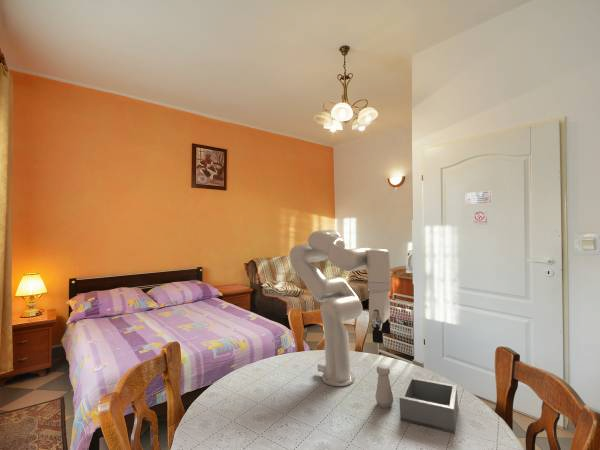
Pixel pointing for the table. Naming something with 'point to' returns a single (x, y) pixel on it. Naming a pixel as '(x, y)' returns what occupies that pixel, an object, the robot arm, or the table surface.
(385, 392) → the salt shaker
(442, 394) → the bin
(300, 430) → the table surface
